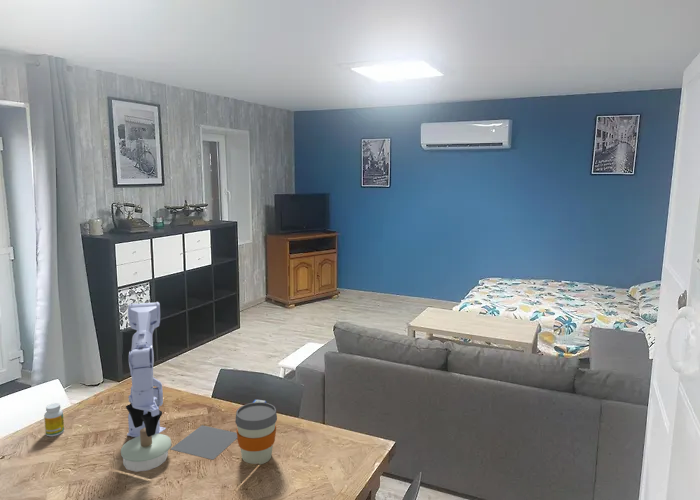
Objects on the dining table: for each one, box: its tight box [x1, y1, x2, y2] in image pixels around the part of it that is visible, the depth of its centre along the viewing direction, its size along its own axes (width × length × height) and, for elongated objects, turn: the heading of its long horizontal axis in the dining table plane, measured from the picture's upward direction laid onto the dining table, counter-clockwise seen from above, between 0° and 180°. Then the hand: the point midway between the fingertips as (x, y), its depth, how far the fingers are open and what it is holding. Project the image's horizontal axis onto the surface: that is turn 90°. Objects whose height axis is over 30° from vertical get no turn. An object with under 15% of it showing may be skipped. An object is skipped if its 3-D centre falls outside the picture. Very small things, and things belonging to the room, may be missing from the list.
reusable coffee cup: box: [234, 401, 278, 466], centre depth 145 cm, size 13×13×15 cm
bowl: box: [122, 450, 169, 472], centre depth 142 cm, size 12×12×4 cm
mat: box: [170, 424, 238, 461], centre depth 153 cm, size 16×16×1 cm
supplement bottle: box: [43, 402, 65, 437], centre depth 157 cm, size 5×5×10 cm
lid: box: [120, 428, 172, 462], centre depth 142 cm, size 14×14×6 cm
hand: (144, 430), depth 141 cm, fingers open, 7 cm apart
